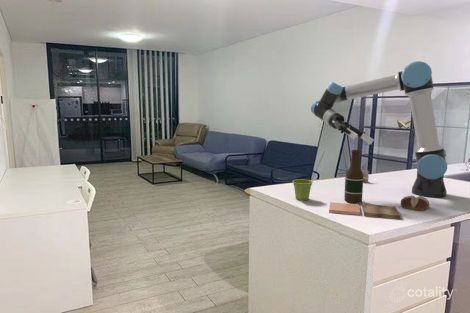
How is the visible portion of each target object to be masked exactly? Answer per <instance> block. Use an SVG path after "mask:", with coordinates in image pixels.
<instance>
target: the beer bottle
mask: <svg viewBox="0 0 470 313" xmlns="http://www.w3.org/2000/svg"><path fill="white" fill-rule="evenodd" d="M350 152H351V157H350V158H351V159H350V164H349V168H348V169H347V171H346V173H345V177H344V196H343V198H344V201H345V203H347V204H361V203H362V201H363V191H364V190H363V188H364V182H363V173H362V171H361V170H362V169H361V167H360V153H361V151H360V150H359V149H352V150H350Z"/></svg>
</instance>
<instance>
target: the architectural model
mask: <svg viewBox="0 0 470 313" xmlns="http://www.w3.org/2000/svg"><path fill="white" fill-rule="evenodd" d="M361 171H362V173H363V183H367V184H368V183H369V170H365V169H361Z"/></svg>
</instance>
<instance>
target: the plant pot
mask: <svg viewBox="0 0 470 313" xmlns="http://www.w3.org/2000/svg"><path fill="white" fill-rule="evenodd" d="M292 183H293V186H294V195H295V196H294V197H295V199H296V200H297V201H298V200H299V201H303V202H304V201H308V200H309V198H310V192H311V188H312V186H313V183H314V181H313V180H310V179H304V178H303V179H301V178H300V179H298V178H297V179H293V180H292Z"/></svg>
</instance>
